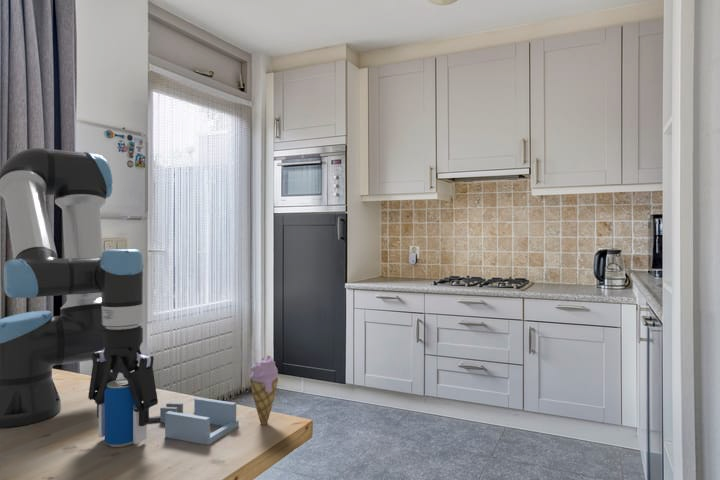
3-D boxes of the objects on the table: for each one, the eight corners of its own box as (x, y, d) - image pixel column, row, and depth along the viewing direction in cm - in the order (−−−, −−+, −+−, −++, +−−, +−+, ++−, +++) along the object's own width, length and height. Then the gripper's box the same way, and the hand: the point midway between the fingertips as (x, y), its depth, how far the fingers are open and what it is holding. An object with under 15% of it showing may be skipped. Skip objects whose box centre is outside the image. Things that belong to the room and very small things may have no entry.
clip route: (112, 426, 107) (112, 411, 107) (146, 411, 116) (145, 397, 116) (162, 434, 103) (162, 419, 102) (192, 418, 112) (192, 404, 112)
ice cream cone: (285, 424, 108) (285, 356, 108) (261, 432, 104) (261, 362, 104) (266, 416, 113) (267, 351, 113) (243, 424, 108) (243, 356, 108)
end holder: (165, 437, 101) (165, 413, 101) (197, 419, 111) (197, 397, 111) (208, 445, 98) (208, 420, 98) (238, 425, 107) (238, 403, 107)
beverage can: (126, 450, 95) (125, 388, 95) (97, 447, 97) (96, 386, 96) (146, 436, 102) (146, 379, 101) (119, 434, 103) (119, 377, 103)
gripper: (67, 325, 99) (67, 437, 99) (149, 333, 92) (150, 453, 92) (98, 319, 106) (98, 424, 106) (177, 326, 99) (177, 438, 99)
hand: (122, 437), depth 99 cm, fingers open, 8 cm apart
